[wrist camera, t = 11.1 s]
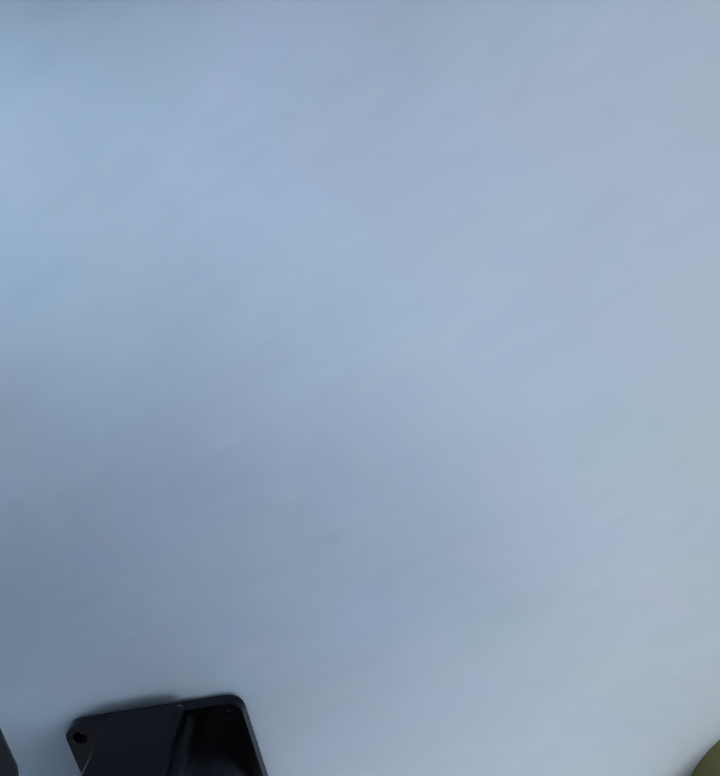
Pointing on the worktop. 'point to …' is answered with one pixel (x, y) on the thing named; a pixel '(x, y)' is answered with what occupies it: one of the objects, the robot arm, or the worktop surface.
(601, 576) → the worktop surface
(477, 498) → the worktop surface
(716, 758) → the cookie cutter
